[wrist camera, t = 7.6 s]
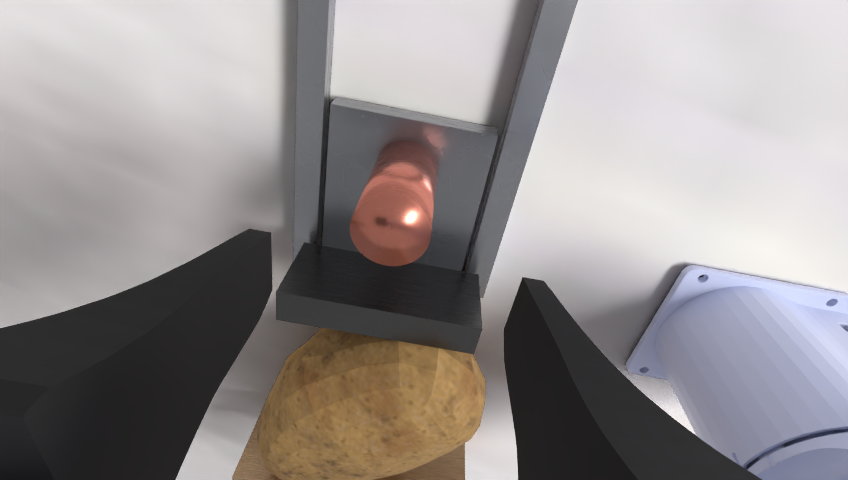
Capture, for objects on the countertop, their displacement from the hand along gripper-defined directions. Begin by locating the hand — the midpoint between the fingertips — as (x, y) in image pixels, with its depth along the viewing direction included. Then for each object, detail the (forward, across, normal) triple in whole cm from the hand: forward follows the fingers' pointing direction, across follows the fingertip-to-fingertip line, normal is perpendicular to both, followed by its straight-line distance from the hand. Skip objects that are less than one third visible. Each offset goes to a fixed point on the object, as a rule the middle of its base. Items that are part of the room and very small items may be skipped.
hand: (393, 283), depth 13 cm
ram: (+10, 0, +2) cm, 10 cm away
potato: (+10, +1, +13) cm, 16 cm away
